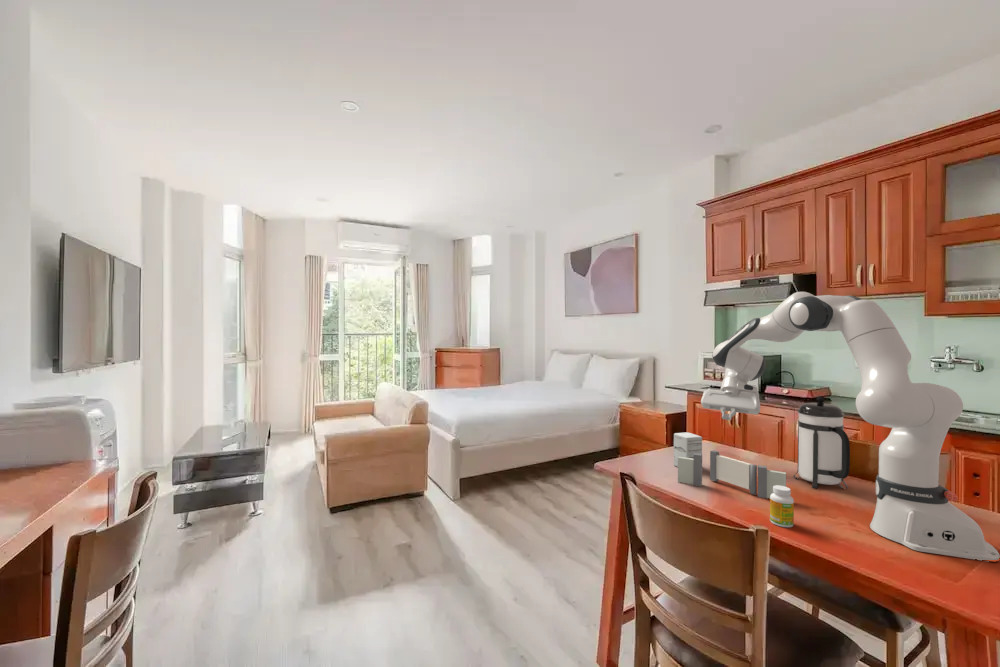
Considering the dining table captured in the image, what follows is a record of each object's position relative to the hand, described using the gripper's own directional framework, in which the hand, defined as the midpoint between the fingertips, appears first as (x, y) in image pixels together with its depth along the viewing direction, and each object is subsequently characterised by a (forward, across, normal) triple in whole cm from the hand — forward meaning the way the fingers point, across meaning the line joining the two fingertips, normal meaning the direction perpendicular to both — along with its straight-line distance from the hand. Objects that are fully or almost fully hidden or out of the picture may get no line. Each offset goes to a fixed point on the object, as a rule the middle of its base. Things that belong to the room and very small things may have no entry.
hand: (726, 418), depth 160 cm
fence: (+30, +7, -3) cm, 31 cm away
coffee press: (+11, +29, +16) cm, 35 cm away
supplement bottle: (+41, +24, -15) cm, 50 cm away
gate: (+27, +7, -1) cm, 28 cm away
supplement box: (+20, -11, +8) cm, 24 cm away
